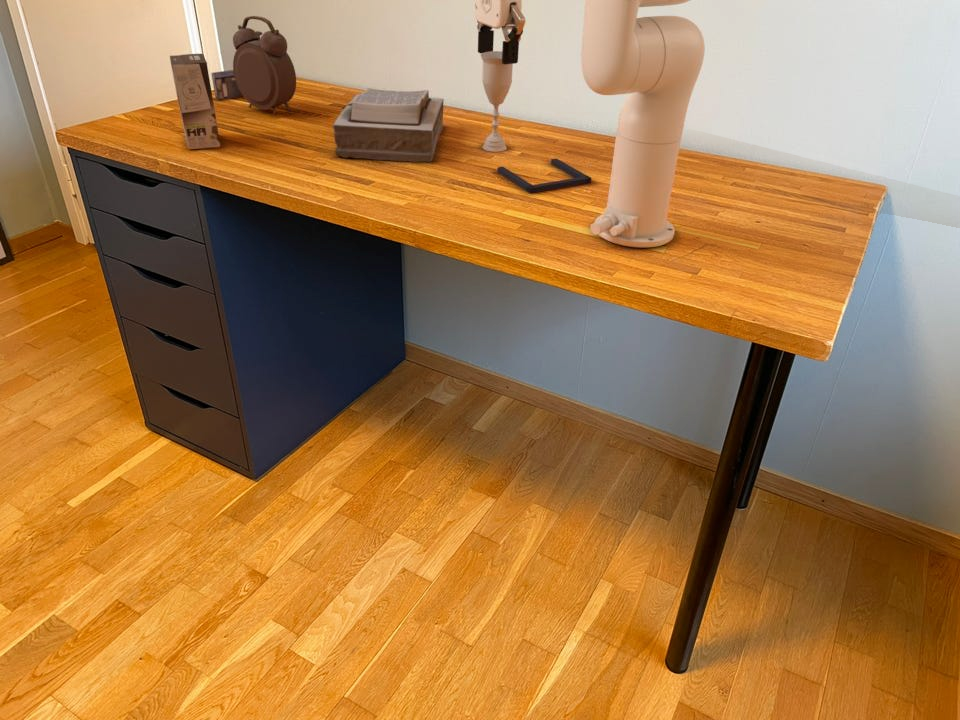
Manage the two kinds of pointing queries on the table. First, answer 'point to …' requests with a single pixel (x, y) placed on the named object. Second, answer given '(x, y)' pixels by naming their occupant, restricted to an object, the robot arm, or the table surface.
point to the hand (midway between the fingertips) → (497, 57)
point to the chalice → (495, 93)
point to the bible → (389, 126)
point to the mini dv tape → (225, 85)
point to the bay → (578, 180)
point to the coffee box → (195, 100)
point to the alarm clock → (263, 67)
